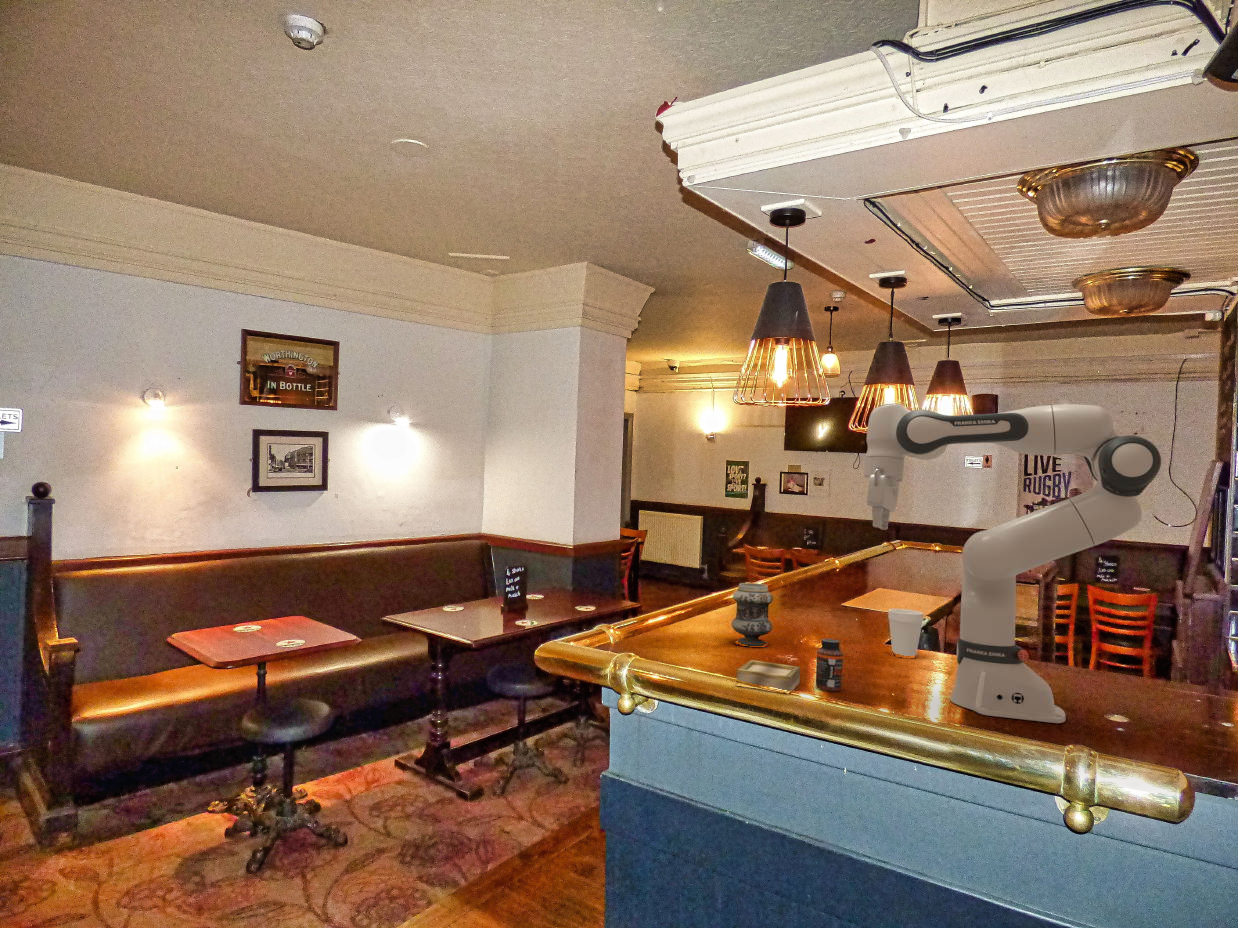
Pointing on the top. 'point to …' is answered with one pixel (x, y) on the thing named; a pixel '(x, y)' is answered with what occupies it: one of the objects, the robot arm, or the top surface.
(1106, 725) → the top surface
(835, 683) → the supplement bottle
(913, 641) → the foam cup
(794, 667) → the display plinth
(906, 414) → the robot arm
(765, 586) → the apothecary jar
